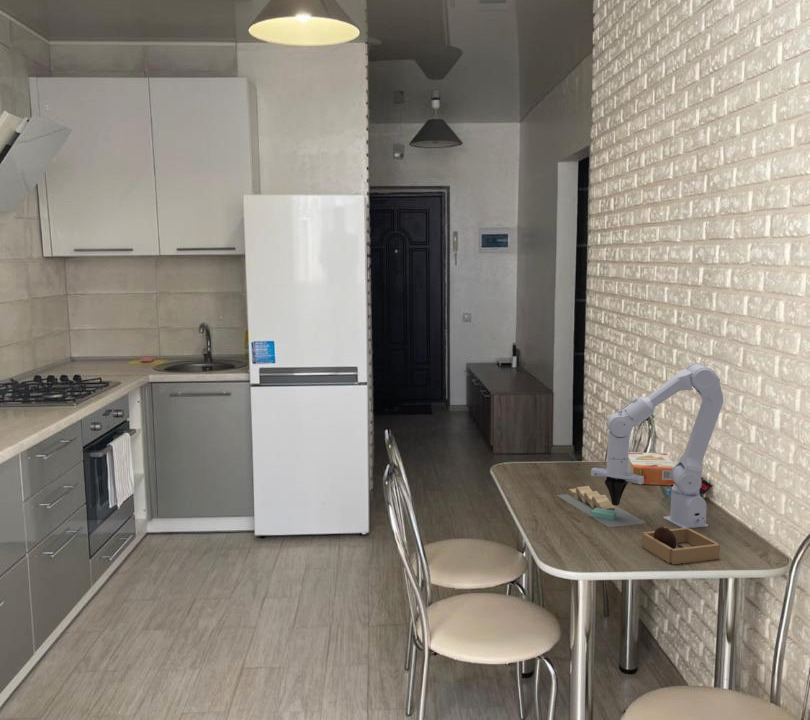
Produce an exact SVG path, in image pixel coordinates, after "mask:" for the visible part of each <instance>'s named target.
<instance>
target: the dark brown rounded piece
mask: <svg viewBox="0 0 810 720" xmlns="http://www.w3.org/2000/svg"><path fill="white" fill-rule="evenodd" d="M669 529H670V528H668V526H660V527H658V528H657V529H656V528H655V530H654V531H655V532H654V538H655V539H657V540H659V541H660V542H662V543H664V544H666V545H667V546H669V547H671V548H672V549H677V548H685V547H686V546H684V545H682V544H680V543H676V538H675V536H674V534H673V533H672V531H671V530H669Z"/></svg>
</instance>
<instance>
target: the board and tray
mask: <svg viewBox="0 0 810 720" xmlns="http://www.w3.org/2000/svg"><path fill="white" fill-rule="evenodd" d="M556 496H557V497H558V498H560V499H562V500H564V502H567V503H568V504H570V505H571V506H573V507H575V508H576V509H578V510H580V511H581V512H583V513H584V514H586V515H587V516H589V517H591V518H593V519H595V520H596V521H598V522H599V523H601V524H602V525H604V526H606V528H607V527H608V528H616V527H626V526H635V525H644V524H645V525H646V524H647V522H646V521H644V520H642V519H641V518H639V517H637V516H635V515H633V514H632V513H630V512H628V511H626V510H624V509H622V508H621V507H619V506H618V505H617V506H615V505H613V506H614V507H615V510H614V511H617V517H616V518H615V519H614V520H613V521H612V520H606V519H600V518H594V517H592V511H593V510H594V509H593V508H592V507H591V505H590V504H585V503H584V502H583V501H582V500H577V499H576V498H574V497H572V496H571V495H569V494H568V493H567V494H566V493H565V494H557V495H556ZM668 529H669V530H671V531H672V533H673V534H674V536H675V538H676V544H680V543H681V544H682V543H683V544H684V543H687V544H689V545H691V546H687V547H686V546H684V547H685V548H677V549H672V548H671V547H669V546H667V545H666V544H664V543H662V542H660V541H659V540H657V539H655V538H654V532H655V530H653V531H651V530H650V531H643V532H642V538H641V540H642V541H641V546H642V548H643V549H645V550H646V551H648V552H650V553H651V554H653V555H654V556H656V557H658V558H660V559H661V560H663V561H664V560H665V561H664V562H666V561H667V563H668V564H671V563H672V565H673V564H675V565H682V564H681V563H683V564H689V563H690V564H691V563H698V562H704V561H705V562H706V561H714V560H720V550H721V547H720V546H721V544H720V543H719V542H717V541H715V540H714V539H711V538H709V537H707V536H705V535H704V534H701V532H700V533H699V532H697V531H696V530H694V529H693V528H681V527H679V528H668Z"/></svg>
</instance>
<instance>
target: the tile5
mask: <svg viewBox="0 0 810 720" xmlns="http://www.w3.org/2000/svg"><path fill="white" fill-rule="evenodd" d="M576 488H577V487H576ZM576 488H568V492H567V494H569V495H571V496H572V497H574V498H576V499H577V500H582V499H581V498H580V497H579V495H578V494H577V493H576Z"/></svg>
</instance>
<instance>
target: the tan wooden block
mask: <svg viewBox="0 0 810 720" xmlns="http://www.w3.org/2000/svg"><path fill="white" fill-rule="evenodd" d="M596 495H601V494H600V493H599V492H598V490H594V491H593V490H592V492H585V493H584V498H585V499H586V500H587V501H588V503H589V504H590V505H591V507H592V508H593V509H595V508H597V507H596V506H595V504H594V503H593V501H592V497H593V496H596Z"/></svg>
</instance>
